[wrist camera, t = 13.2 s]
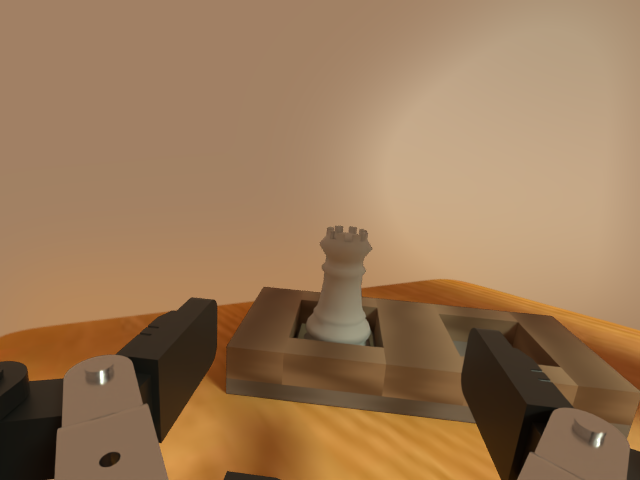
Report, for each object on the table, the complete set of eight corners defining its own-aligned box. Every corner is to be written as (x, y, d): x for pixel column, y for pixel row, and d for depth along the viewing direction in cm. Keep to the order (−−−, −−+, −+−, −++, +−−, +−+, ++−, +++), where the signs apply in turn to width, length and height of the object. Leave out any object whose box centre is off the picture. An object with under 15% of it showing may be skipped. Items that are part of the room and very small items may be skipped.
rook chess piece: (298, 331, 27) (305, 221, 24) (358, 329, 27) (369, 223, 25) (309, 368, 22) (319, 239, 20) (379, 364, 23) (395, 240, 21)
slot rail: (543, 351, 29) (552, 316, 28) (626, 441, 20) (642, 393, 19) (262, 321, 30) (263, 286, 29) (226, 393, 21) (226, 346, 21)
